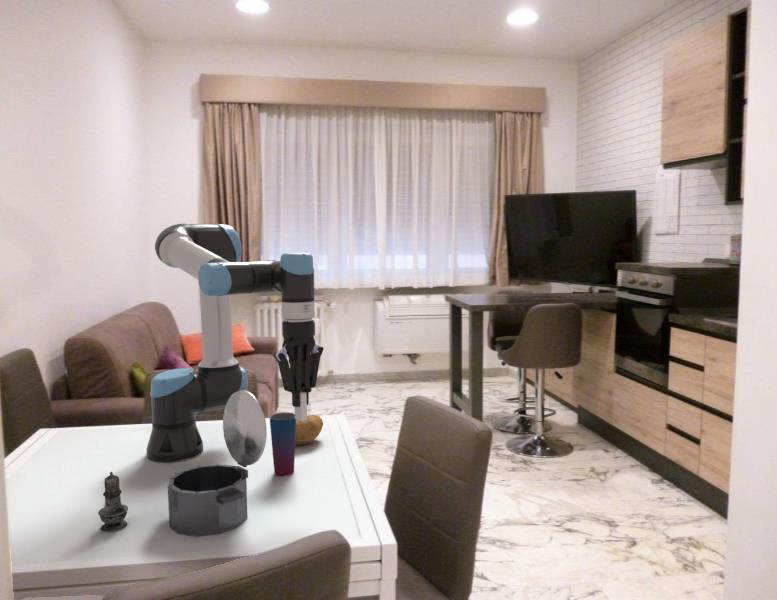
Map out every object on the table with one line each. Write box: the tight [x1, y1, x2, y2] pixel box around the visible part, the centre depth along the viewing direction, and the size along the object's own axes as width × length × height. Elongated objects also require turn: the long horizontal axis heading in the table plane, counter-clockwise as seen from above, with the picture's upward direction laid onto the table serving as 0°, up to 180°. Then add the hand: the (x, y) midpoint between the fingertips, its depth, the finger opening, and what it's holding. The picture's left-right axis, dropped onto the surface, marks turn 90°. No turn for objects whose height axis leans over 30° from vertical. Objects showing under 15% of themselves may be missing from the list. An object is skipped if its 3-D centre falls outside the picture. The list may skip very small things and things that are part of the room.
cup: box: [269, 411, 296, 477], centre depth 159 cm, size 7×7×15 cm
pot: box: [167, 463, 249, 537], centre depth 134 cm, size 20×17×9 cm
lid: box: [222, 390, 268, 468], centre depth 139 cm, size 17×17×3 cm
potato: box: [295, 414, 324, 446], centre depth 183 cm, size 10×14×8 cm
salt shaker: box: [97, 471, 129, 533], centre depth 130 cm, size 6×6×12 cm
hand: (300, 419), depth 145 cm, fingers closed
